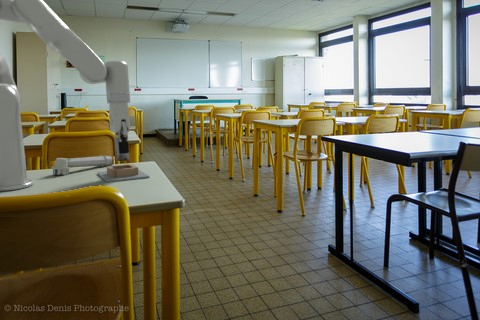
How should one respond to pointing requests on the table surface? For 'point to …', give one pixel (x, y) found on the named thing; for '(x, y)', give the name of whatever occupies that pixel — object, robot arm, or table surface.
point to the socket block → (122, 173)
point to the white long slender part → (79, 163)
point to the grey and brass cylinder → (118, 156)
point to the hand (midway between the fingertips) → (122, 151)
